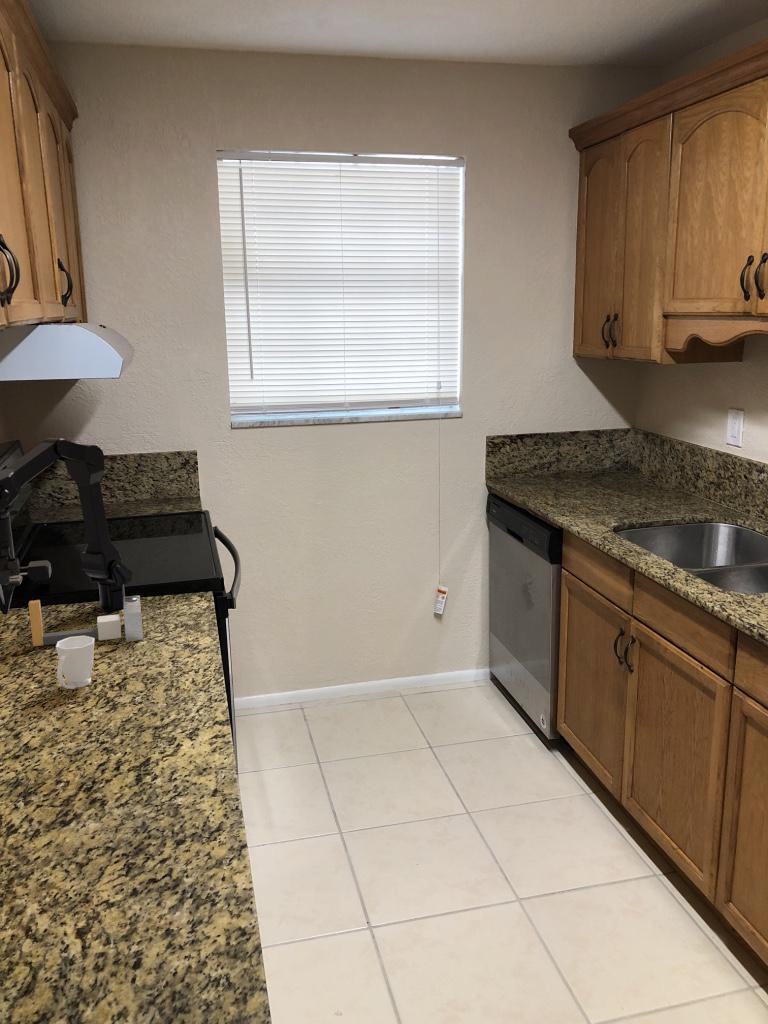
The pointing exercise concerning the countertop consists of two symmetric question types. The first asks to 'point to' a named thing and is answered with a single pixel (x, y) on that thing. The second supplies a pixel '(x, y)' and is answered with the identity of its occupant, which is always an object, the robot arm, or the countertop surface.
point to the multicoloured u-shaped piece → (106, 630)
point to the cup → (75, 661)
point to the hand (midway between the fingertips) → (5, 614)
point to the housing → (133, 618)
